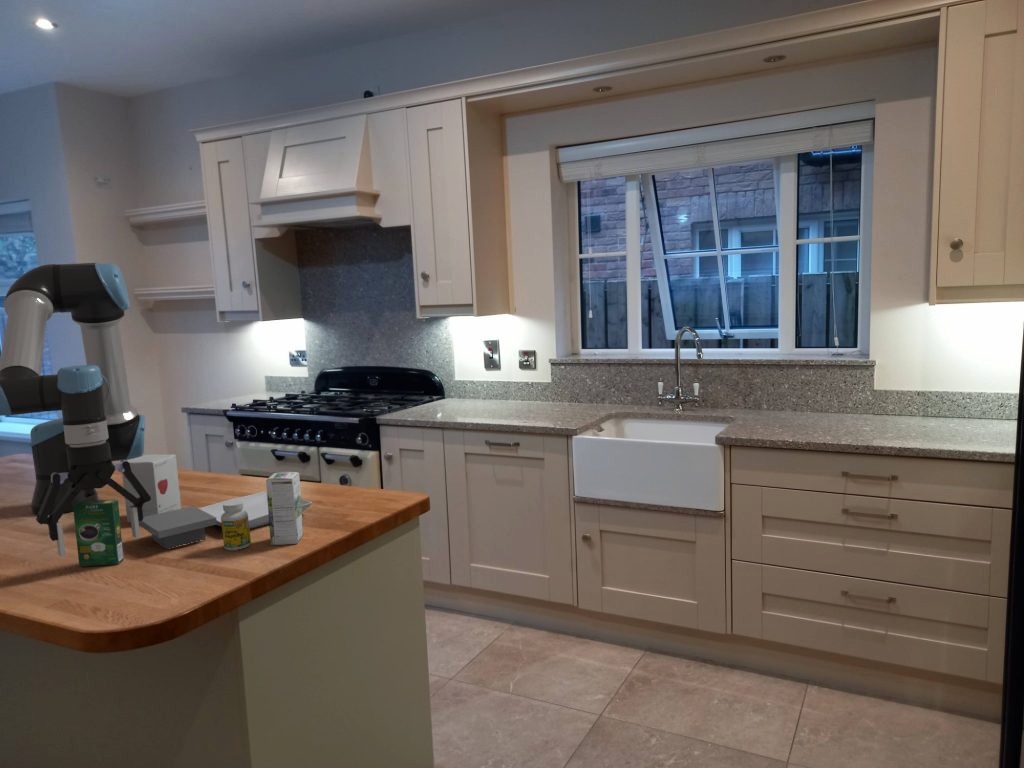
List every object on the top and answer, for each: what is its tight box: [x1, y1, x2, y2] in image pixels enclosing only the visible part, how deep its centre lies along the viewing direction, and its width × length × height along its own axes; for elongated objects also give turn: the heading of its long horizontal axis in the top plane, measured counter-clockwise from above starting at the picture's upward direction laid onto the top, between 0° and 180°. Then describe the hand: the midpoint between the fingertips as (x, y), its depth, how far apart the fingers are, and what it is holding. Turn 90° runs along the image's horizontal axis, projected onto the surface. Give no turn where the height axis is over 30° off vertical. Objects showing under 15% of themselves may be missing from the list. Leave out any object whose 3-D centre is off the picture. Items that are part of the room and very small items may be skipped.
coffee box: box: [72, 499, 124, 567], centre depth 149 cm, size 8×3×13 cm, turn 94°
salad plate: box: [198, 490, 313, 530], centre depth 176 cm, size 21×21×3 cm
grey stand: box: [138, 505, 217, 550], centre depth 162 cm, size 14×12×5 cm
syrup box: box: [265, 471, 304, 546], centre depth 157 cm, size 6×6×14 cm
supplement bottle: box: [221, 500, 252, 551], centre depth 155 cm, size 5×5×10 cm
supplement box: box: [121, 453, 182, 523], centre depth 179 cm, size 9×9×15 cm
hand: (100, 546), depth 149 cm, fingers open, 13 cm apart
